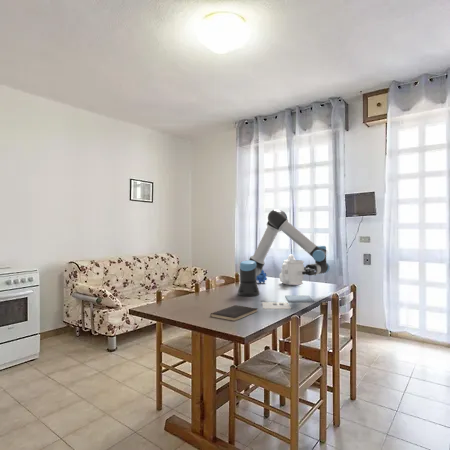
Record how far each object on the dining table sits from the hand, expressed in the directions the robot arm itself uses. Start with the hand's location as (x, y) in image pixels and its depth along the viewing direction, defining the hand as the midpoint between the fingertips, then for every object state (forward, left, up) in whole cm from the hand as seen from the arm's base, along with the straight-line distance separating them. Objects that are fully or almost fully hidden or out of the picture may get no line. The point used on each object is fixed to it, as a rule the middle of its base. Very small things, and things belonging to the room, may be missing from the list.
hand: (291, 272), depth 213 cm
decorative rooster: (+4, +63, -19) cm, 66 cm away
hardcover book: (-35, -31, -19) cm, 51 cm away
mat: (+5, +6, -18) cm, 20 cm away
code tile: (-11, -11, -18) cm, 24 cm away
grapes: (-18, +71, -19) cm, 76 cm away
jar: (+3, +3, -8) cm, 9 cm away
